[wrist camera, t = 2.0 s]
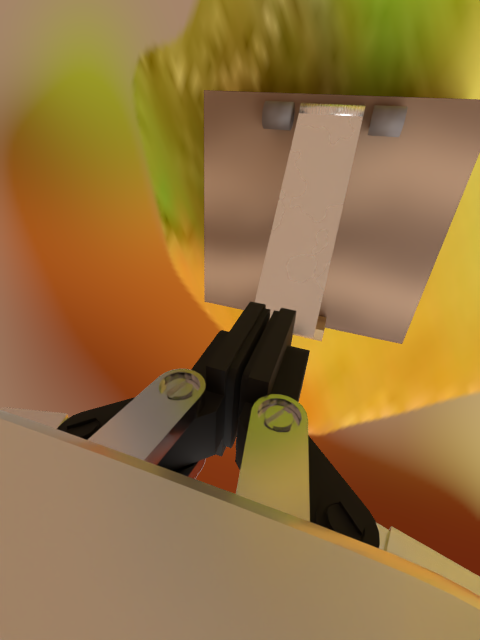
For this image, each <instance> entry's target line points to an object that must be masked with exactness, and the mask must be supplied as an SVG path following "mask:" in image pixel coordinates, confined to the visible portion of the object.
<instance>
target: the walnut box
mask: <svg viewBox="0 0 480 640" xmlns="http://www.w3.org/2000/svg"><path fill="white" fill-rule="evenodd" d="M301 103H316V104H341V105H365V110H364V115H363V120H362V124H361V128H360V133H359V137H358V142H357V146H356V151H355V155H354V160H353V164H352V169H351V173H350V177H349V182H348V186H347V191H346V195H345V200H344V204H343V209H342V213H341V218H340V222H339V227H338V231H337V235H336V240H335V244H334V249H333V253H332V258H331V262H330V267H329V271H328V276H327V280H326V284H325V289H324V293H323V298H322V302H321V307H320V311H319V316H318V320H317V325H316V329H315V333H314V338H310V339H314V340H319V341H322V337H323V333H324V329H325V327H326V328H330V329H335V330H339V331H344V332H349V333H353V334H358V335H363V336H367V337H372V338H377V339H381V340H386V341H391V342H395V343H400V344H402V343H403V340H404V338H405V335H406V333H407V330H408V328H409V325H410V323H411V320H412V318H413V316H414V313H415V311H416V308H417V306H418V303H419V301H420V298H421V296H422V293H423V291H424V288H425V286H426V283H427V281H428V279H429V276H430V274H431V271H432V269H433V266H434V264H435V261H436V259H437V256H438V254H439V251H440V249H441V246H442V244H443V242H444V239H445V237H446V234H447V232H448V229H449V227H450V224H451V222H452V219H453V217H454V214H455V212H456V209H457V207H458V205H459V202H460V200H461V197H462V195H463V192H464V190H465V187H466V185H467V182H468V180H469V177H470V175H471V172H472V170H473V168H474V165H475V163H476V160H477V158H478V155H479V153H480V100H477V99H447V98H417V97H388V96H358V95H328V94H298V93H268V92H239V91H209V90H204V239H205V302H209V303H214V304H219V305H223V306H228V307H232V308H237V309H242V310H245V308H246V307H247V305H248V304H249V302H250V301H251V302H255V299H256V294H257V290H258V286H259V282H260V277H261V273H262V269H263V264H264V260H265V256H266V252H267V247H268V243H269V239H270V235H271V230H272V226H273V222H274V217H275V213H276V209H277V205H278V200H279V196H280V192H281V187H282V183H283V179H284V175H285V170H286V166H287V162H288V158H289V153H290V149H291V145H292V140H293V136H294V132H295V128H296V123H297V119H298V115H299V109H300V105H301ZM293 335H296V334H293ZM297 336H300V335H297ZM301 337H304V336H301ZM305 338H309V337H305Z"/></svg>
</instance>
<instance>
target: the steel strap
mask: <svg viewBox="0 0 480 640" xmlns="http://www.w3.org/2000/svg"><path fill="white" fill-rule="evenodd" d="M364 110H365V105H341V104H316V103H301V105H300V109H299V115H298V119H297V123H296V128H295V132H294V136H293V140H292V145H291V149H290V153H289V158H288V162H287V166H286V170H285V175H284V179H283V183H282V187H281V192H280V196H279V200H278V205H277V209H276V213H275V217H274V222H273V226H272V230H271V235H270V239H269V243H268V247H267V252H266V256H265V260H264V264H263V269H262V273H261V277H260V282H259V286H258V290H257V294H256V299H255V302H256V303H261V304H265V305H266V309H270V318H271V316H272V314H273V312H274V310H276V311H280V309H281V308H286V309H291V310H296V318H295V324H294V329H293V334H296V335H300V336H304V337H309V338H314V333H315V329H316V325H317V320H318V316H319V311H320V307H321V302H322V298H323V293H324V289H325V284H326V280H327V276H328V271H329V267H330V262H331V258H332V253H333V249H334V244H335V240H336V235H337V231H338V227H339V222H340V218H341V213H342V209H343V204H344V200H345V195H346V191H347V186H348V182H349V177H350V173H351V169H352V164H353V160H354V155H355V151H356V146H357V142H358V137H359V133H360V128H361V124H362V120H363V115H364Z"/></svg>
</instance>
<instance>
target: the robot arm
mask: <svg viewBox="0 0 480 640" xmlns="http://www.w3.org/2000/svg"><path fill="white" fill-rule="evenodd" d="M295 318H296V310H291V309H286V308H281V309H280V311H276V310H274V312H273V314H272V316H271V318H270V309H266V305H265V304H261V303H256V302H251V301H250V302H249V304H248V305H247V307H246V308H245V310H244V311H243V313H242V314H241V316H240V317H239V318H238V320H237V321H236V323H235V324H234V326H233V327H232V329H231V330H230V332H227V331H223V330H222V331H220V332H219V333H218V334H217V336H216V337H215V338H214V340H213V341H212V342H211V344H210V345H209V346H208V348H207V349H206V350H205V352H204V353H203V355H202V356H201V357H200V359H199V360H198V361H197V363H196V364H195V365H194V367H193V368H192V369H191V370H189V369H176V370H171V371H168V372H166V373H164V374H162V375H161V376H159V377H158V378H157V379H156V380H155V381H154V382H153V383H151V384H150V385H149V386H148V387H147V388H146V389H145V390H143V391H142V392H141V393H140V394H139V395H138V396H137V397H135V398H131V399H127V400H124V401H121V402H117V403H113V404H109V405H106V406H103V407H99V408H95V409H92V410H88V411H84V412H81V413H79V414H76V415H73V416H72V417H70V418H69V417H68V414H65V413H55V412H46V411H36V410H26V409H16V408H0V640H480V577H479V576H477V575H475V574H473V573H472V572H470V571H468V570H467V569H465V568H463V567H461V566H460V565H458V564H456V563H455V562H453V561H451V560H449V559H448V558H446V557H444V556H442V555H441V554H439V553H437V552H435V551H434V550H432V549H430V548H428V547H427V546H425V545H423V544H421V543H420V542H418V541H416V540H414V539H413V538H411V537H409V536H407V535H405V534H404V533H402V532H401V531H399V530H397V529H395V528H393V527H391V528H390V530H387V529H386V528H384V527H382V526H381V525H379V524H377V523H376V521H375V520H374V518H373V516H372V515H371V513H370V512H369V510H368V509H367V508H366V506H365V505H364V504H363V503H362V501H361V500H360V499H359V498H358V496H357V495H356V494H355V493H354V491H353V490H352V489H351V488H350V486H349V485H348V484H347V483H346V481H345V480H344V479H343V478H342V477H341V475H340V474H339V473H338V471H337V470H336V469H335V468H334V467H333V465H332V464H331V463H330V462H329V461H328V459H327V458H326V457H325V455H324V454H323V453H322V452H321V450H320V449H319V448H318V447H317V445H316V444H315V443H314V442H313V441H312V439H311V438H310V437H309V435H308V418H307V413H306V411H305V409H304V408H303V406H302V405H301V404H300V403H298V402H299V397H300V393H301V389H302V384H303V380H304V375H305V370H306V366H307V361H308V356H309V352H310V351H309V350H305V349H300V348H296V347H292V346H291V341H292V335H293V329H294V324H295ZM236 437H237V439H236ZM235 439H236V460H235V462H236V463H237V465H238V467H239V469H240V475H239V480H238V486H237V491H236V494H234V493H231V492H228V491H226V490H223V489H220V488H217V487H215V486H212V485H209V484H206V483H204V482H201V481H198V480H195V478H196V477H197V475H198V474H199V472H200V471H201V469H202V468H203V466H204V463H205V458H208V457H210V456H213V455H215V454H217V455H219V456H222V455H223V452H224V450H225V448H226V446H227V447H230V448H231V447H232V446H233V444H234V441H235Z"/></svg>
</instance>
